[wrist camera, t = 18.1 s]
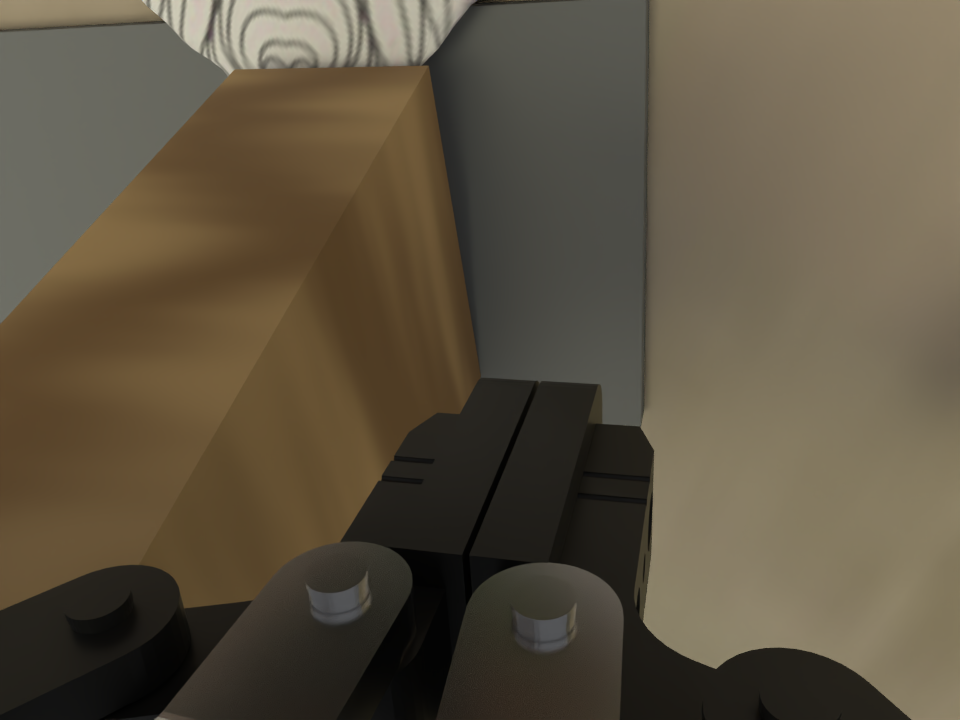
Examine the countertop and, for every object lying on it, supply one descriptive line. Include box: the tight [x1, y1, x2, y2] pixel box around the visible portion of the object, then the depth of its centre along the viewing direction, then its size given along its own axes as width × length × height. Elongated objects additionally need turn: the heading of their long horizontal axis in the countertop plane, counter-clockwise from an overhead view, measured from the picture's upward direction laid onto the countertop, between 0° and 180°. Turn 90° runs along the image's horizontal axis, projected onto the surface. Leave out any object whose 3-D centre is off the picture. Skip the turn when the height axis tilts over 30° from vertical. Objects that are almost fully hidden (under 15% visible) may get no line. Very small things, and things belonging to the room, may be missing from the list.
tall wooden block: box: [0, 66, 481, 610], centre depth 15 cm, size 4×8×12 cm, turn 3°
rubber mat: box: [0, 0, 649, 426], centre depth 22 cm, size 10×19×1 cm, turn 94°
